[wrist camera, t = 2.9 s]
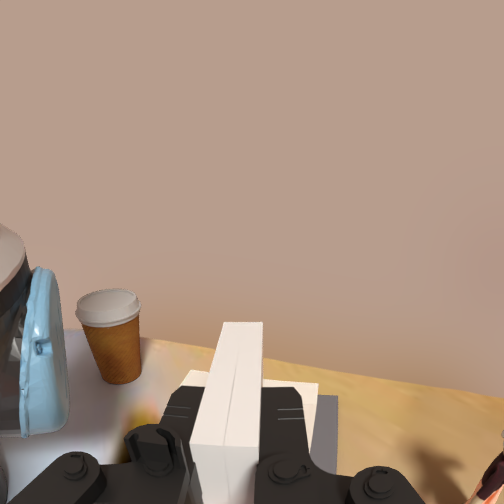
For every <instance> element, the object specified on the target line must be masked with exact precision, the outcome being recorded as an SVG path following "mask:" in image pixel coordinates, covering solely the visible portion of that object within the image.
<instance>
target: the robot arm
mask: <svg viewBox="0 0 504 504" xmlns="http://www.w3.org/2000/svg"><path fill="white" fill-rule="evenodd" d="M69 410H70V401H69V385H68V374H67V364H66V353H65V343H64V333H63V323H62V313H61V304H60V296H59V289H58V284H57V281H56V278H55V274H54V273H53V272H52V271H51V270H49V269H43V268H40V267H36V268H35V269H33V270H32V271H31V270H30V268H29V265H28V261H27V256H26V252H25V247H24V243H23V241H22V239H21V237H20V236H19V235H18V234H17V233H15V232H13V231H12V230H10V229H9V228H7V227H5V226H4V225H2V224H0V437H22V438H28V436H29V435H35V434H43V433H50V432H55V431H58V430H60V429H61V428H62V427H63V426H64V425H65V424H66V421H67V420H68V416H69ZM163 414H164V415H163V416H162V418H161V421H160V423H159V424H147V425H143V426H139V427H136V428H135V429H133V430H131V431H129V432H128V434H127V435H126V436H125V437H124V441H125V444H126V446H127V449H128V452H129V454H130V457H131V459H132V462H130V463H125V464H109V465H99V463H98V461H97V459H96V458H94V457H93V456H92V455H90V454H88V453H84V452H69V453H66V454H63V455H62V456H60V457H58V458H57V459H56V460H55V461H54V462H52V463H51V464H50V465H49V466H48V467H47V468H46V469H45V470H44V471H43V472H42V473H41V474H39V475H38V476H37V477H36V478H35V479H34V480H33V481H32V482H31V483H30V484H28V485H27V486H26V487H25V488H24V489H23V490H22V491H21V492H20V493H19V494H17V495H16V496H15V497H14V498H13V499H12V500H11V501H10V502H9V503H7V504H200V503H201V498H202V499H203V503H204V504H425V502H424V501H423V500H422V499H421V497H420V496H419V495H418V493H417V492H416V491H415V490H414V488H413V487H412V486H411V484H410V483H409V482H408V480H407V479H406V478H405V477H404V476H403V475H402V474H401V473H400V472H399V471H397V470H395V469H392V468H390V467H384V466H374V467H369V468H366V469H364V470H362V471H360V472H358V473H357V474H356V475H355V476H354V477H350V476H342V475H336V474H331V473H328V472H326V471H324V470H321V469H320V468H319V467H317V466H316V465H315V464H314V462H313V461H312V460H311V457H310V454H309V447H308V439H307V432H306V424H305V419H304V410H303V403H302V396H301V395H300V394H299V393H298V391H297V390H296V389H295V388H294V387H263V322H224V324H223V327H222V331H221V335H220V338H219V341H218V345H217V348H216V352H215V355H214V359H213V362H212V366H211V369H210V372H209V376H208V379H207V383H206V386H205V387H199V386H184V385H182V386H180V387H179V388H178V389H177V390H176V391H175V392H174V393H172V394H171V397H170V399H169V402H168V404H167V407H166V409H165V411H164V413H163ZM6 497H7V484H6V479H5V475H4V473H3V470H2V468H1V467H0V504H5V503H6Z"/></svg>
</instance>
